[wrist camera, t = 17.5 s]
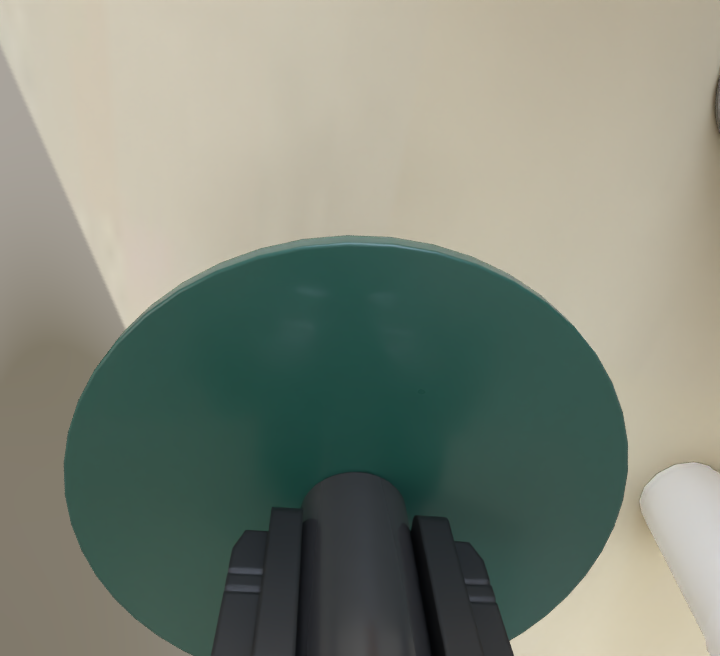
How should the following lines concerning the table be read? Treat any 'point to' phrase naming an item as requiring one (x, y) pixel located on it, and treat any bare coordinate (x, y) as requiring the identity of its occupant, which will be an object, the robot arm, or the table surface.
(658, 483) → the foam cup
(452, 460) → the lid
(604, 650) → the table surface
